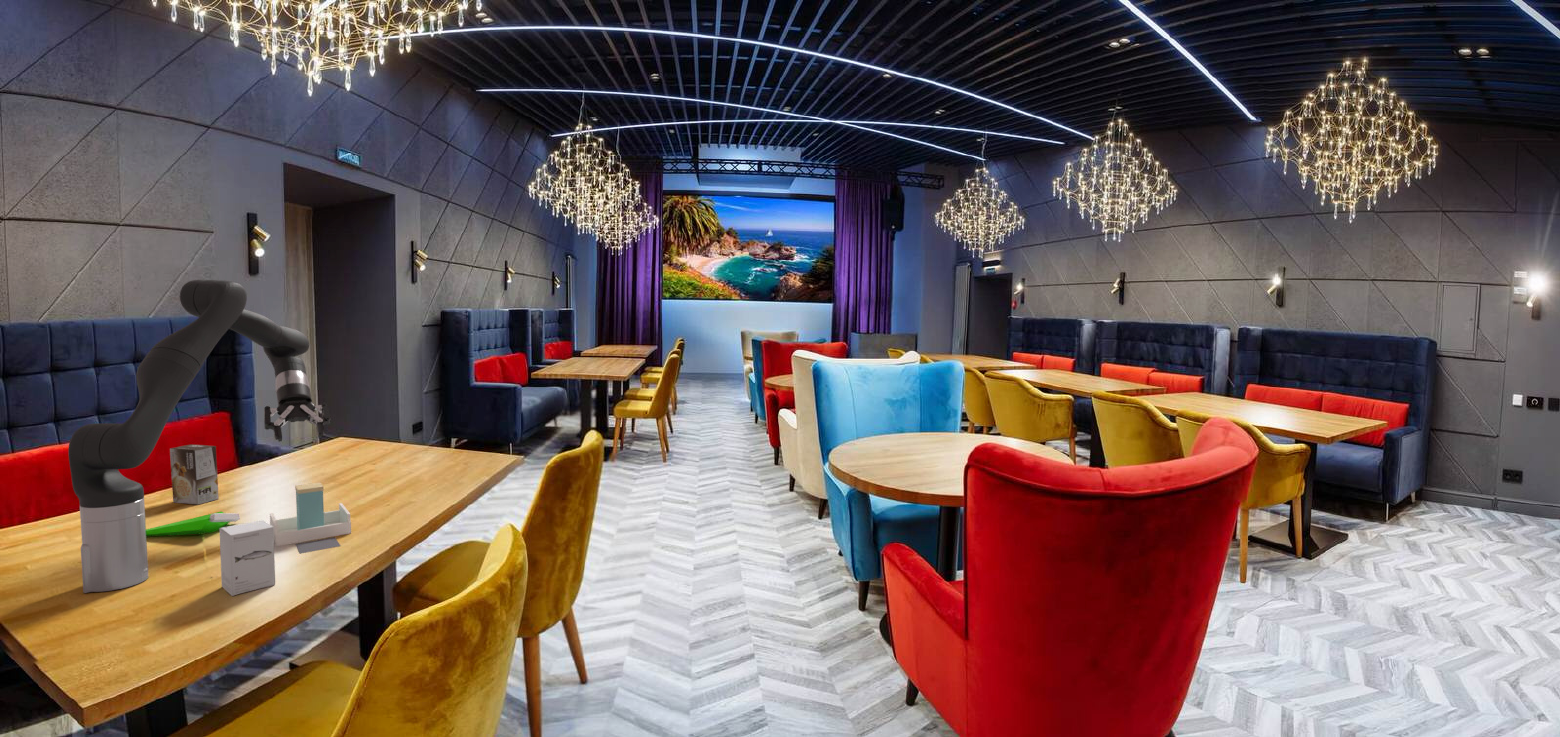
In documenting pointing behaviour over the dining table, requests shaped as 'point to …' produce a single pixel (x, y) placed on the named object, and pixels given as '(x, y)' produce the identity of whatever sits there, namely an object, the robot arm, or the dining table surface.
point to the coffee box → (194, 474)
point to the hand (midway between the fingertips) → (300, 437)
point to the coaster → (317, 545)
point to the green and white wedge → (195, 525)
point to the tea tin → (309, 505)
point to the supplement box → (247, 557)
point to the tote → (333, 526)
